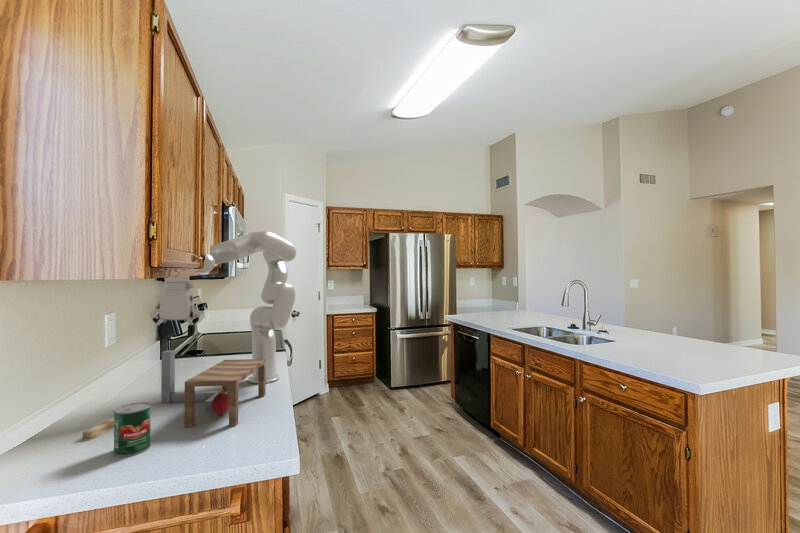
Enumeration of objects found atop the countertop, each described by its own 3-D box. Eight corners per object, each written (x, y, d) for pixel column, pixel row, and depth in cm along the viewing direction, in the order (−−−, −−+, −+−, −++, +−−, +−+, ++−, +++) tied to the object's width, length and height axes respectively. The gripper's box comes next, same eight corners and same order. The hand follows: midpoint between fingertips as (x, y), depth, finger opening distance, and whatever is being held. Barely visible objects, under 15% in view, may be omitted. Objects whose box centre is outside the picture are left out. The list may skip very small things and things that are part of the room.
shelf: (224, 395, 141) (225, 359, 141) (265, 395, 142) (265, 359, 142) (184, 427, 112) (184, 381, 112) (235, 425, 113) (235, 380, 113)
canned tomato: (134, 441, 102) (135, 401, 103) (158, 444, 100) (158, 403, 101) (105, 455, 95) (105, 411, 95) (129, 458, 93) (130, 414, 93)
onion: (223, 419, 118) (223, 393, 118) (207, 418, 119) (207, 392, 119) (234, 412, 123) (234, 388, 124) (219, 411, 125) (219, 387, 125)
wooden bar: (122, 421, 118) (122, 413, 118) (130, 421, 118) (130, 413, 118) (82, 440, 104) (82, 432, 104) (90, 441, 104) (91, 432, 104)
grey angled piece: (166, 400, 136) (166, 350, 137) (227, 398, 137) (228, 349, 138) (146, 411, 125) (146, 357, 125) (213, 410, 126) (214, 356, 126)
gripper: (207, 287, 137) (206, 334, 136) (157, 287, 135) (156, 335, 135) (197, 287, 129) (197, 337, 129) (144, 288, 128) (144, 338, 127)
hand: (176, 336), depth 132 cm, fingers open, 9 cm apart
